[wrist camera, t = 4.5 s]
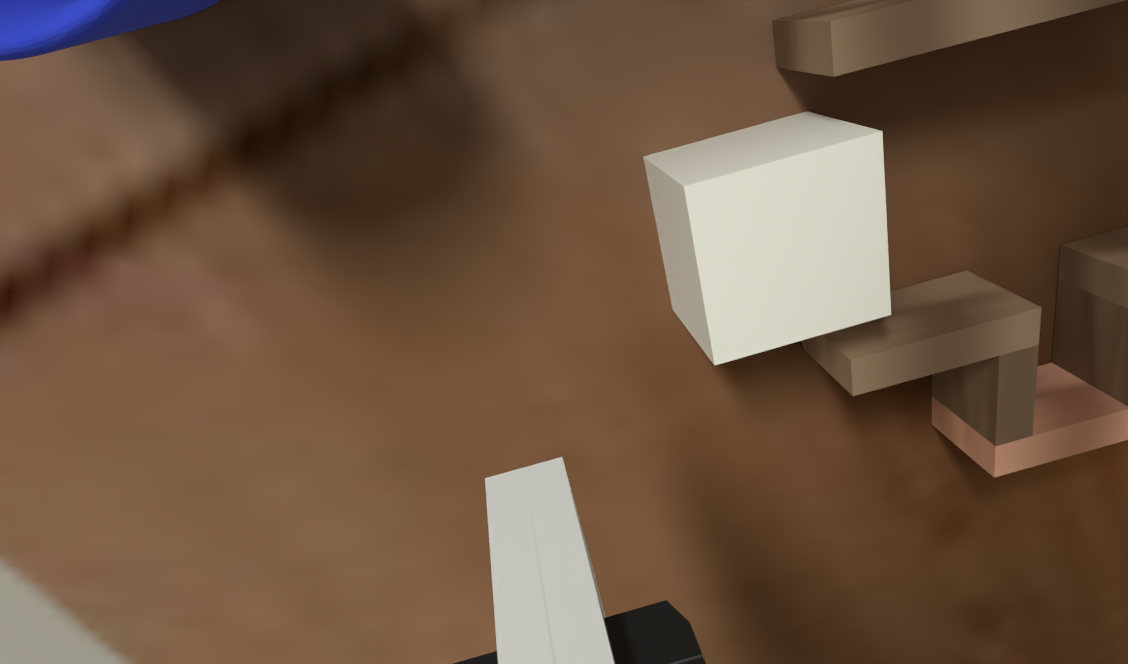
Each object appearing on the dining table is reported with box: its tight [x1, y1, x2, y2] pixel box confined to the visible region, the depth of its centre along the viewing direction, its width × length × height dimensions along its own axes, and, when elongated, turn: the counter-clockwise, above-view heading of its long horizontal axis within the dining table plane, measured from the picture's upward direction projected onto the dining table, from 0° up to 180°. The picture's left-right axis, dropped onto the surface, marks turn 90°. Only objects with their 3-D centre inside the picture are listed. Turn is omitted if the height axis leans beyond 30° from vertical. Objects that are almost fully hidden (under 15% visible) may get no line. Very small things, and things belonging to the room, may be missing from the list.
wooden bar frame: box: [773, 0, 1128, 478], centre depth 26 cm, size 18×18×4 cm
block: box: [643, 111, 891, 365], centre depth 24 cm, size 6×6×5 cm
